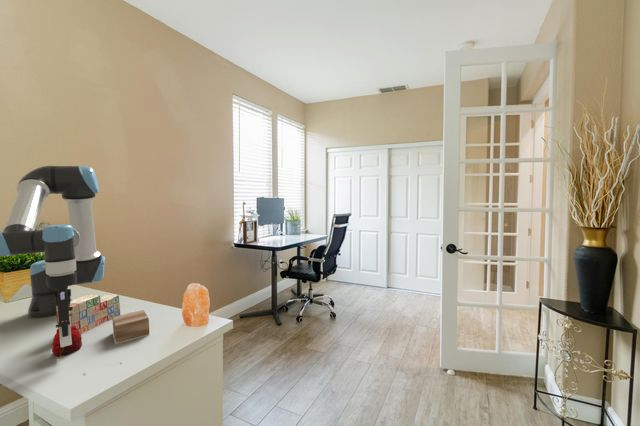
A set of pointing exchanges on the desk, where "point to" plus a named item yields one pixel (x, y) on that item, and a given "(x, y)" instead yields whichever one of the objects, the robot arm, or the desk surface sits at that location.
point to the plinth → (130, 326)
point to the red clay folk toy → (71, 348)
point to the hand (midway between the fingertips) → (66, 338)
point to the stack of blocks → (92, 311)
